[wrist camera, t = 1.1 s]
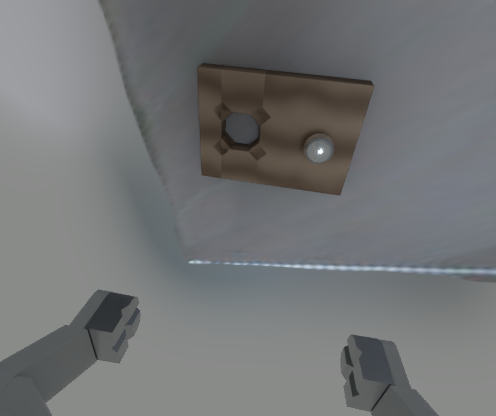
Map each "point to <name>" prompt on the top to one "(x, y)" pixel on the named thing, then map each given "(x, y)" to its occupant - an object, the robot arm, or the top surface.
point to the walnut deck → (279, 125)
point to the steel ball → (318, 148)
